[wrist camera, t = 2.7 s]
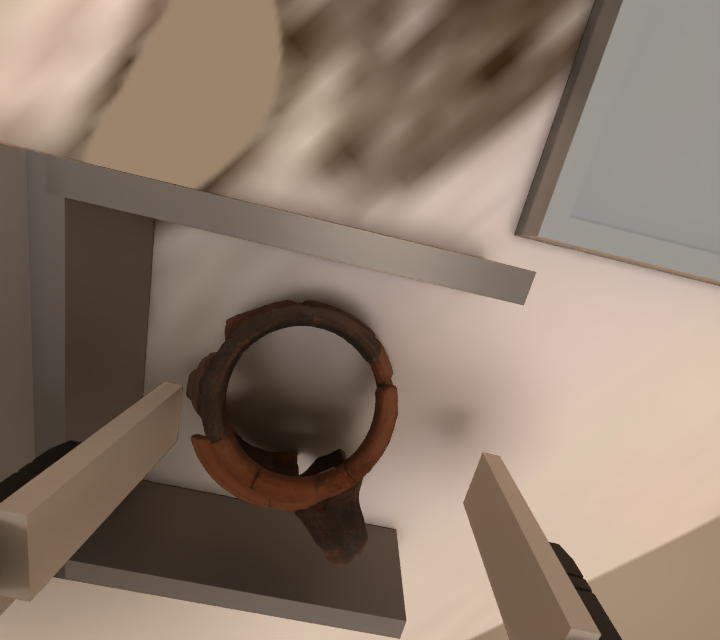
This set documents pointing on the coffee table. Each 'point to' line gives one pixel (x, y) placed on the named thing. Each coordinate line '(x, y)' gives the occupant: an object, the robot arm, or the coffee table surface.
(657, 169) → the tray
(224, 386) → the pottery mug
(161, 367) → the coffee table surface
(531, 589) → the robot arm
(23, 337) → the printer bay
